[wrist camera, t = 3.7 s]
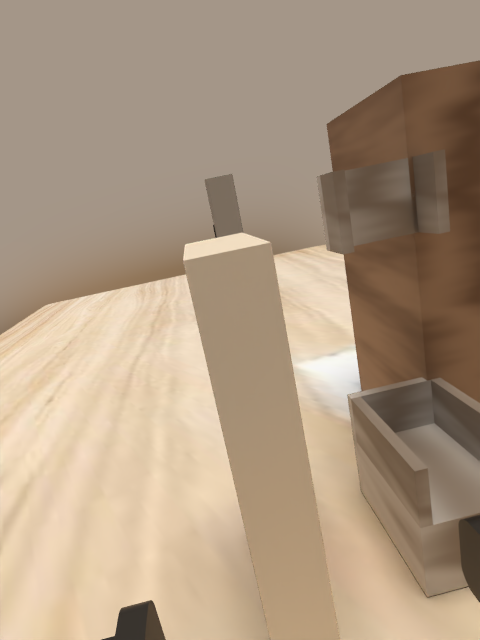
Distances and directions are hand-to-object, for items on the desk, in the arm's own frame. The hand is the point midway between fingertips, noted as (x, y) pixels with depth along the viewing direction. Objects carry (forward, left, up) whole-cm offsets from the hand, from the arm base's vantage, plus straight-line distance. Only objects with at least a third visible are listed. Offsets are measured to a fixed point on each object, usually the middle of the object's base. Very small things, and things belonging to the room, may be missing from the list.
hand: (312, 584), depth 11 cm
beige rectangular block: (0, -10, -10) cm, 14 cm away
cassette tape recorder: (-6, -80, -10) cm, 81 cm away
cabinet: (-13, -16, -10) cm, 23 cm away
